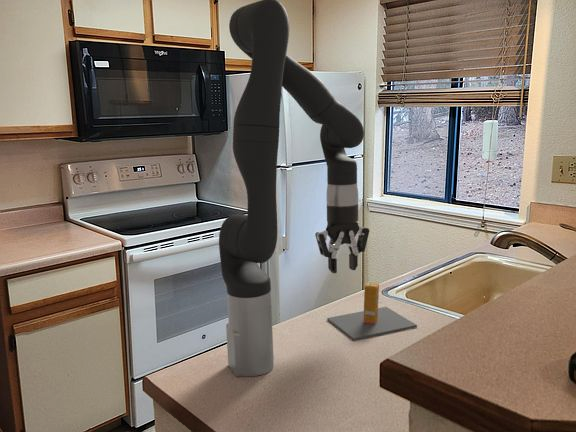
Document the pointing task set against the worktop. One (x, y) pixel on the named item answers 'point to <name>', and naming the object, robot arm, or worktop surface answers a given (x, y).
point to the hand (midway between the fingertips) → (342, 270)
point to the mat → (360, 330)
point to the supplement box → (371, 303)
